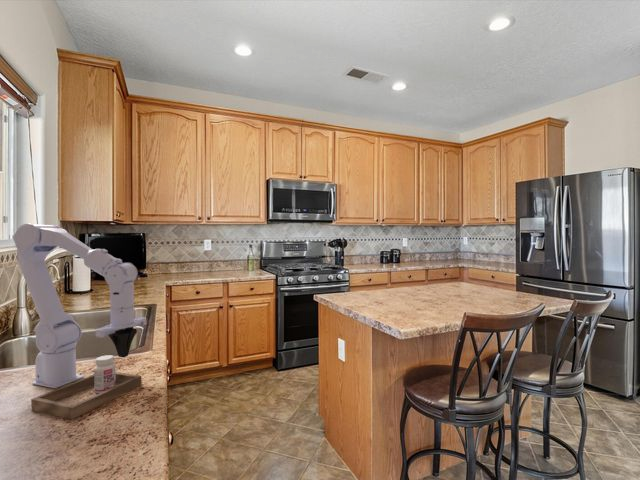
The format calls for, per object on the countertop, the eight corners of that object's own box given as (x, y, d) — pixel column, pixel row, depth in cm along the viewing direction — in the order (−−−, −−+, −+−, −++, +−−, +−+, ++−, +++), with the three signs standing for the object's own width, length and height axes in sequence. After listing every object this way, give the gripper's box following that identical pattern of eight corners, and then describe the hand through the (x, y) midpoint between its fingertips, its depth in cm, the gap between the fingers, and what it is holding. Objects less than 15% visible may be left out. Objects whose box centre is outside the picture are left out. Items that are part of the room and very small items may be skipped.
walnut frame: (31, 409, 81) (31, 399, 81) (104, 379, 99) (104, 370, 99) (72, 419, 77) (72, 408, 77) (141, 385, 94) (141, 376, 94)
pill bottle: (105, 394, 89) (105, 361, 89) (89, 392, 90) (89, 360, 90) (120, 386, 94) (119, 355, 93) (104, 385, 95) (104, 354, 94)
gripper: (109, 313, 89) (110, 367, 89) (154, 303, 102) (155, 349, 102) (89, 312, 91) (90, 364, 91) (135, 302, 105) (136, 347, 105)
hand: (123, 356), depth 97 cm, fingers closed
